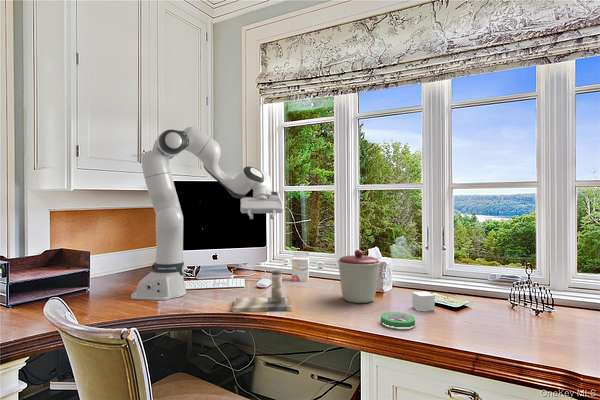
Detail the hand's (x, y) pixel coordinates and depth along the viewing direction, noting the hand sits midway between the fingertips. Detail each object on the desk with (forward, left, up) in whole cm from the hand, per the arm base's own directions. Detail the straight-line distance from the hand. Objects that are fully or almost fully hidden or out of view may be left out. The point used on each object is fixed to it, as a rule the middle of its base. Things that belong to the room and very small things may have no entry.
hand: (261, 218), depth 167 cm
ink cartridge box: (+20, +21, -34) cm, 44 cm away
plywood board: (+1, -24, -33) cm, 41 cm away
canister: (+41, -18, -34) cm, 56 cm away
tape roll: (+47, -48, -34) cm, 75 cm away
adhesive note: (+63, -32, -34) cm, 78 cm away
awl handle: (+6, -24, -32) cm, 41 cm away
